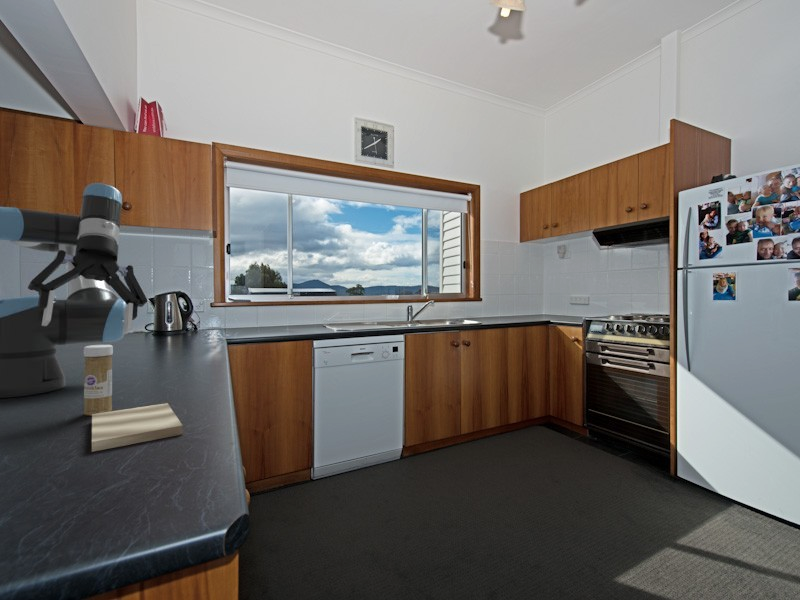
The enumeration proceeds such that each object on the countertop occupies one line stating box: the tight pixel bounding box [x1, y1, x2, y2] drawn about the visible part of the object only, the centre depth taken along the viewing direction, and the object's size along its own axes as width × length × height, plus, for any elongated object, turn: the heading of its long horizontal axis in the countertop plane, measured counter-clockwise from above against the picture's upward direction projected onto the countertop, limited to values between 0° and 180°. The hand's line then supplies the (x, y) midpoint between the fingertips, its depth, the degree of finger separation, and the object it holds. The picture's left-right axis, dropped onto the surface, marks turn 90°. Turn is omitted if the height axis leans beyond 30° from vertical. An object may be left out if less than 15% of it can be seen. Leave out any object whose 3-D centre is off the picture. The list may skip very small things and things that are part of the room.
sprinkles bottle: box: [83, 344, 114, 417], centre depth 76 cm, size 5×5×14 cm
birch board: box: [91, 402, 184, 453], centre depth 68 cm, size 17×12×2 cm
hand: (89, 327), depth 80 cm, fingers open, 13 cm apart
